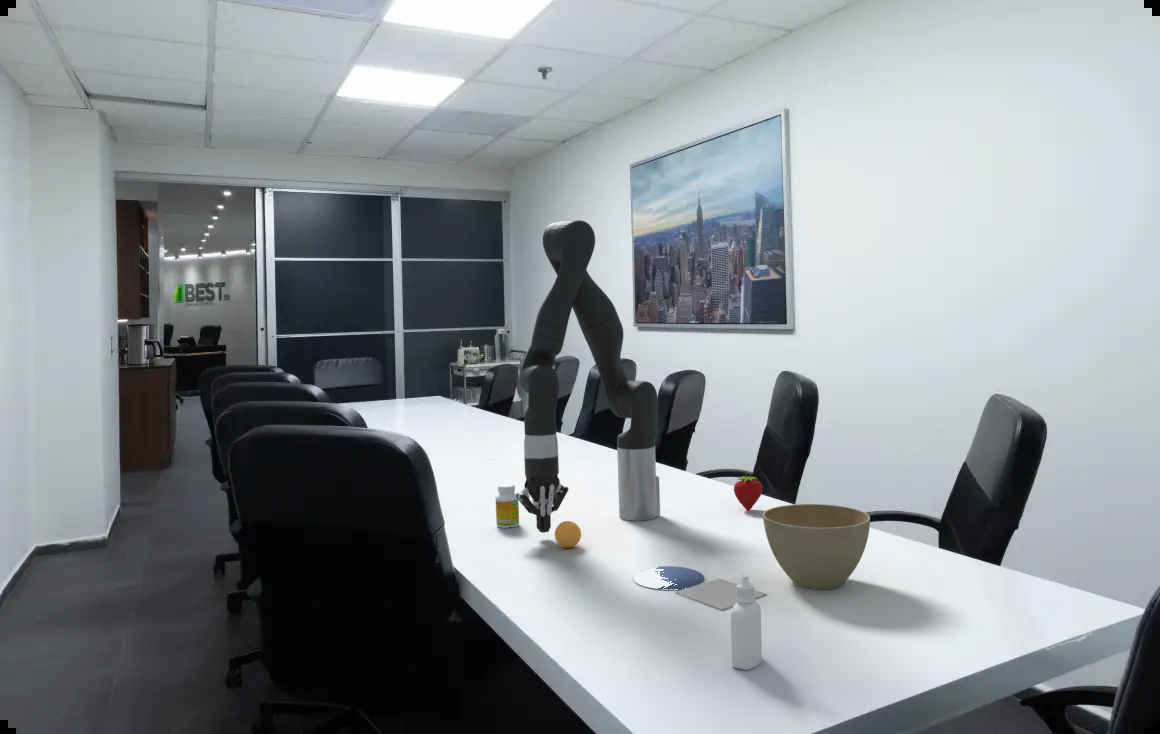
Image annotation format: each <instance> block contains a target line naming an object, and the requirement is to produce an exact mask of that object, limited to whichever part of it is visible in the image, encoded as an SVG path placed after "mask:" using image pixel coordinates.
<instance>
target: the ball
mask: <svg viewBox="0 0 1160 734" xmlns="http://www.w3.org/2000/svg"><path fill="white" fill-rule="evenodd" d="M581 538H582V532H581V528H580V526H579V525H578V524H577V523H575V522H574V521H572V520H564V521H561V522H560V523H559V524H558V525H557V527H556V528H555V531H554V539H555V542H556V543H557V544H558V545H559V546H561V547H562V548H565V549H570V548H573V547H575V546H576V545H578V544H579V543H580V541H581Z"/></svg>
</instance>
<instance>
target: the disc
mask: <svg viewBox="0 0 1160 734" xmlns="http://www.w3.org/2000/svg"><path fill="white" fill-rule="evenodd" d="M657 567H658V568H656V569H664V570H663V571H660V576H661V577H665V578H668V579H664V578H663V579H661V580H664V581H667V582H670V581H672V582H671V583H674V584H672V585H670V586H668V587H666V588H664V587H665V586H663V587H661V588H658V589H663V588H664V589H668V590H667V591H670V590H669V589H673V590H672V591H675V590H674V589H685V588H689V587H692V586H696V585H699V584H701V583H702V582H703V581H705V576H704V574H703V573H702V572H700V571H698V570H697V569H693V568H688V567H684V566H673V565H669V566H668V565H667V566H665V565H664V566H657ZM655 572H658V571H655ZM663 572H664V573H663ZM657 574H658V573H657ZM662 575H663V576H662ZM675 579H676V580H675ZM668 580H669V581H668ZM703 583H704V582H703ZM669 584H670V583H669ZM675 584H677V585H675ZM674 585H675V586H674Z"/></svg>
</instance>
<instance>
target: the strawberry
mask: <svg viewBox="0 0 1160 734" xmlns="http://www.w3.org/2000/svg"><path fill="white" fill-rule="evenodd" d="M747 474H748V472H746V473H745V474H744V476H740V478H737V479H736V480H737V481H736V483H734V485H733V493H734V496H735V498H737V500H738V502H739V503H740V504H741V506H742V507H743V508H744V510H746V511H750V510H751V509H752V508H753V507H754V505H755V504H756V503H757V502H758V501H759V498H761V496H762V493H763V489H764V488H763V484H762V483H761V481H759V478H757V477H756V476H746V475H747Z"/></svg>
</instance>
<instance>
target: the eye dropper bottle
mask: <svg viewBox="0 0 1160 734" xmlns="http://www.w3.org/2000/svg"><path fill="white" fill-rule="evenodd" d="M736 584H737V585H736V600H737V602H736V603H735V604H734V606H733V607H731V612H730V641H731V642H730V643H731V644H730V645H731V646H730V648H731V649H730V650H731V666H732V668H735V669H738V670H742V671H749V670H752V669H754V668H756V667H757V666H759V665H760V664H761V661H762V658H763V648H762V645H763V644H762V642H763V641H762V615H761V613H762V611H761V610H762V609H761V606H760V603H759V602H758V601H757V600H756V599H755V593H754V590H755V586H754V584H752V583H750V581H749V577H748V575H747V574H744V575H743V574H742V577H741V582H740V583H736Z"/></svg>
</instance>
